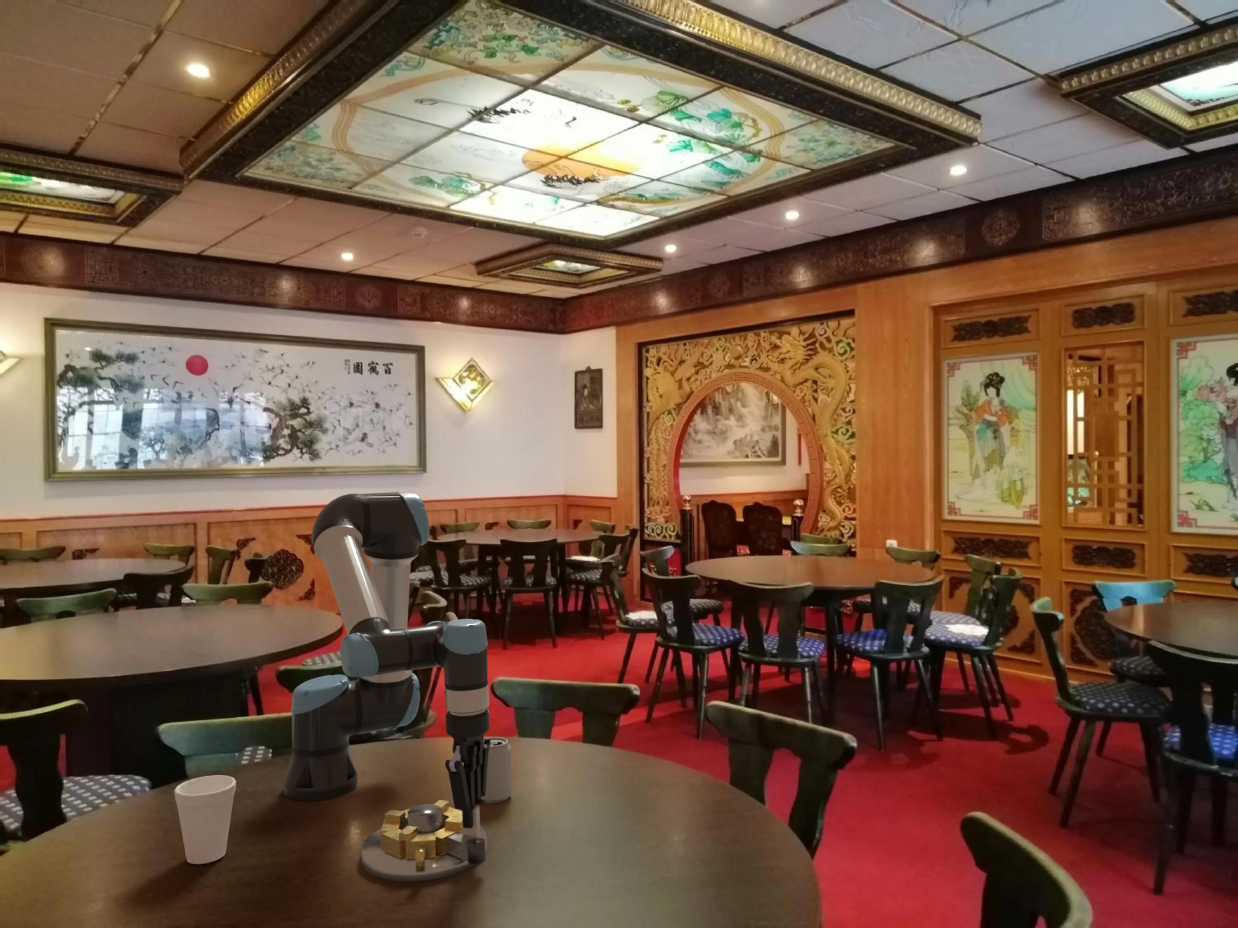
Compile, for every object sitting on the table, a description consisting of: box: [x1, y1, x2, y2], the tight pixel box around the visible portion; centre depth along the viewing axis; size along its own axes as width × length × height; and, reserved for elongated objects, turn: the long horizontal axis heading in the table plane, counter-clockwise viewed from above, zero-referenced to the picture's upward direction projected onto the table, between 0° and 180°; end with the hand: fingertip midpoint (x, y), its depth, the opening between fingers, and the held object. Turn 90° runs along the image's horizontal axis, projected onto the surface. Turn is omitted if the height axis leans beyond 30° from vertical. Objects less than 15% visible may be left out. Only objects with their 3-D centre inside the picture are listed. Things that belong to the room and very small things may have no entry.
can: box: [481, 736, 513, 804], centre depth 180 cm, size 8×8×12 cm
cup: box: [173, 774, 237, 865], centre depth 153 cm, size 10×10×13 cm
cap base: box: [361, 803, 488, 883], centre depth 155 cm, size 22×22×8 cm
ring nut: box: [380, 799, 486, 865], centre depth 152 cm, size 22×15×4 cm, turn 52°
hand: (471, 843), depth 151 cm, fingers closed
